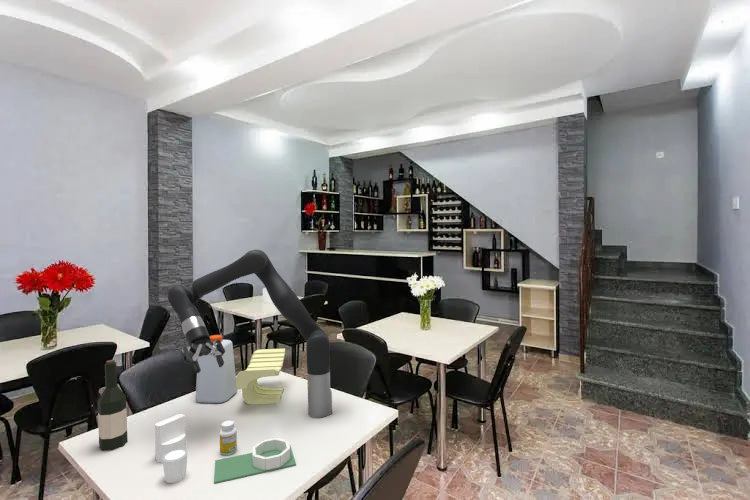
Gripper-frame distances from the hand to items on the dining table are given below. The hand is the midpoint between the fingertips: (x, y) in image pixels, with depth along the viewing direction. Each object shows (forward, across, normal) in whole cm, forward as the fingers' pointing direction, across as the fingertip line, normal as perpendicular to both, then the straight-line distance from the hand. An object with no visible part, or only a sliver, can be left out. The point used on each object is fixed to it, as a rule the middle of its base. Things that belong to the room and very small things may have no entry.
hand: (210, 368), depth 136 cm
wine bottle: (+3, -22, +37) cm, 43 cm away
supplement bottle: (+27, 0, +9) cm, 28 cm away
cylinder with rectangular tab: (+18, -12, +20) cm, 29 cm away
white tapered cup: (+27, -17, +10) cm, 34 cm away
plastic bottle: (-4, +22, +42) cm, 48 cm away
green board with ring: (+36, +2, -1) cm, 36 cm away
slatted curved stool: (+8, +34, +29) cm, 45 cm away
